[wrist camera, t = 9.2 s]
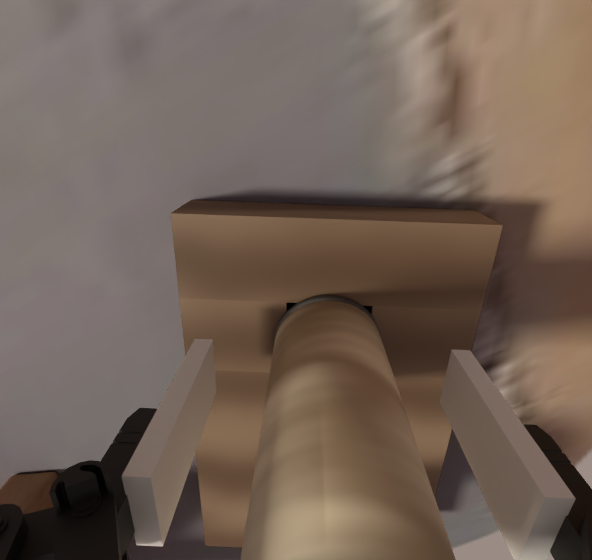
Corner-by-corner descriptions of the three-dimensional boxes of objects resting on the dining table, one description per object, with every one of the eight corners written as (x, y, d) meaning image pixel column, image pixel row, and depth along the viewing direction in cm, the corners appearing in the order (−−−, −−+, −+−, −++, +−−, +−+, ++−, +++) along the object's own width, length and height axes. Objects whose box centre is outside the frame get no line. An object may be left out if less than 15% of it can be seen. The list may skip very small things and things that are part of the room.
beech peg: (278, 354, 21) (234, 677, 9) (278, 271, 19) (224, 538, 7) (366, 357, 21) (449, 689, 9) (376, 275, 19) (501, 552, 7)
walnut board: (191, 200, 19) (-50, 355, 6) (473, 209, 18) (825, 392, 6) (215, 502, 27) (136, 824, 15) (408, 512, 27) (494, 848, 14)
